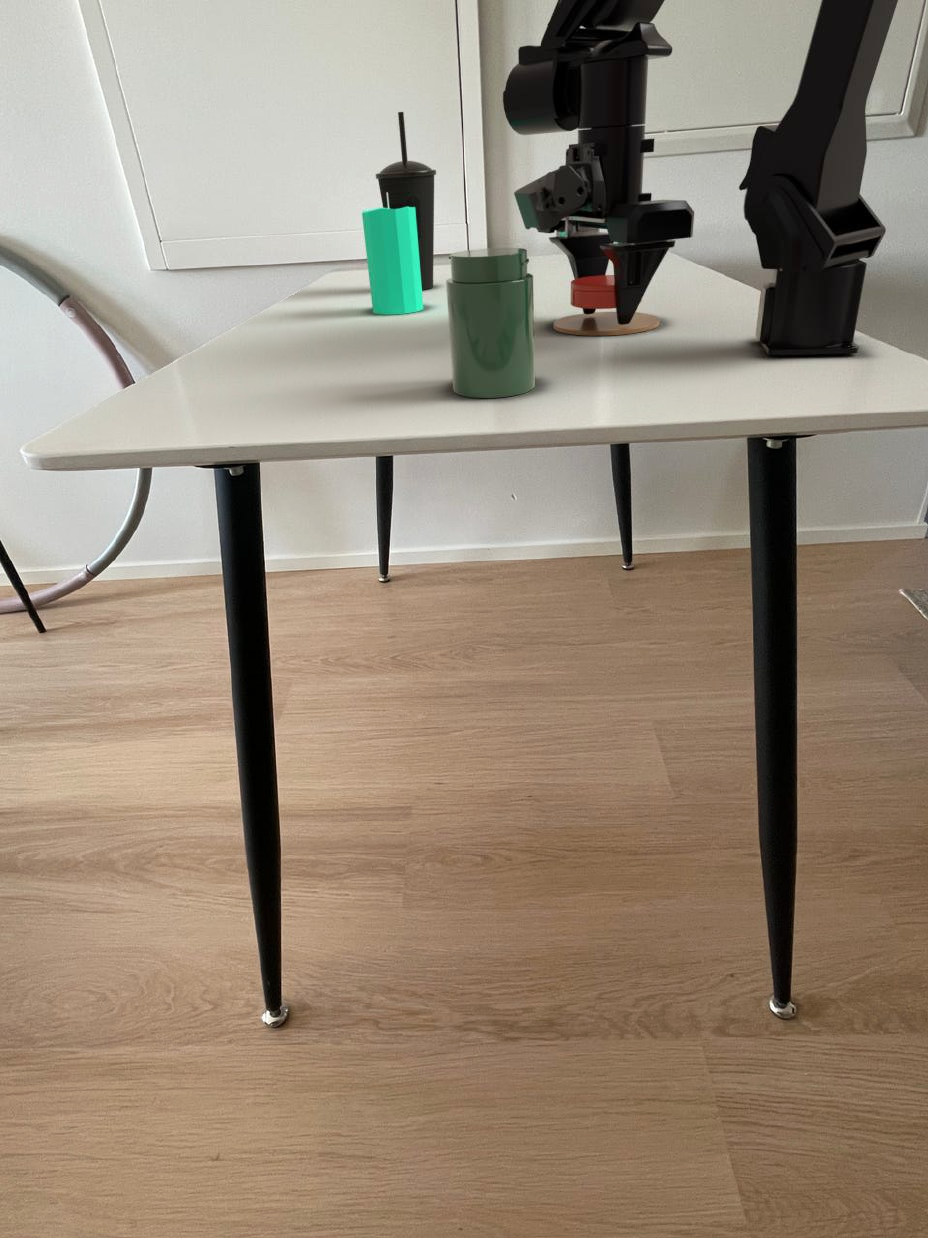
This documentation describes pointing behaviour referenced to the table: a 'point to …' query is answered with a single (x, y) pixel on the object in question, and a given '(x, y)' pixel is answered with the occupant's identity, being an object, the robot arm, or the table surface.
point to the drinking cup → (412, 200)
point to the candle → (393, 260)
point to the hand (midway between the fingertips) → (605, 318)
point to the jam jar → (491, 322)
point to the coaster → (604, 324)
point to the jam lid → (593, 292)
